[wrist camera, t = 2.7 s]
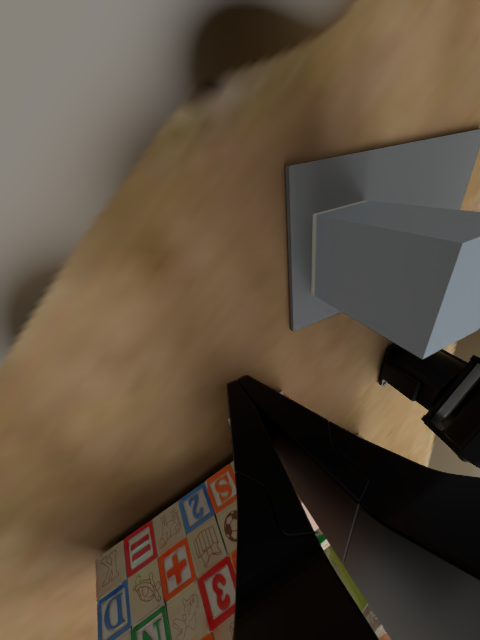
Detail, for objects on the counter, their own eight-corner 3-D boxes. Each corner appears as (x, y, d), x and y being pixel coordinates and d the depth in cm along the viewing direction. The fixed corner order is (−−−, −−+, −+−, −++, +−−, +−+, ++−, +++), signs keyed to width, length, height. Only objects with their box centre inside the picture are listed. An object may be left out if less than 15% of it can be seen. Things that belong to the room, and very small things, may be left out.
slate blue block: (364, 200, 18) (531, 217, 11) (355, 277, 21) (478, 329, 14) (312, 214, 17) (462, 243, 10) (311, 293, 20) (422, 359, 13)
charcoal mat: (479, 128, 20) (485, 128, 20) (436, 270, 27) (440, 271, 26) (285, 166, 15) (288, 166, 15) (290, 329, 22) (293, 331, 21)
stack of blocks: (278, 425, 26) (378, 574, 17) (290, 443, 30) (375, 571, 22) (93, 560, 24) (100, 813, 15) (134, 559, 28) (158, 756, 19)
